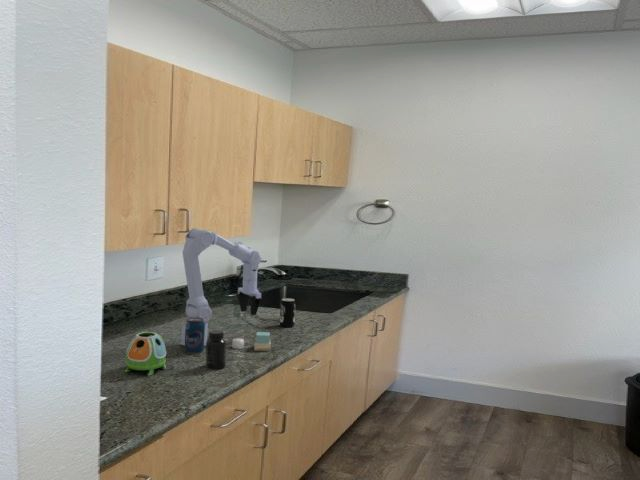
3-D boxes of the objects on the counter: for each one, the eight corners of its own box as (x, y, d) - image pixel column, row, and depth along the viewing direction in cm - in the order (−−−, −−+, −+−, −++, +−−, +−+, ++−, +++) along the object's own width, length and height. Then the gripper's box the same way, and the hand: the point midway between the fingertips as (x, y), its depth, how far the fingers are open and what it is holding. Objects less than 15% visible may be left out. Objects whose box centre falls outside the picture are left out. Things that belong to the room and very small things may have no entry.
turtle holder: (177, 362, 204) (178, 327, 203) (154, 378, 186) (155, 341, 185) (143, 358, 206) (144, 324, 205) (117, 374, 188) (118, 337, 187)
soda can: (184, 354, 213) (185, 321, 212) (184, 349, 220) (185, 317, 219) (204, 354, 215) (205, 321, 214) (203, 348, 221) (204, 317, 220)
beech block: (270, 351, 223) (270, 343, 223) (254, 351, 223) (254, 343, 222) (270, 347, 229) (270, 339, 229) (254, 346, 229) (255, 339, 228)
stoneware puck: (237, 349, 223) (237, 342, 222) (229, 347, 226) (230, 339, 225) (246, 347, 226) (246, 340, 226) (238, 345, 229) (238, 337, 229)
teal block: (269, 343, 223) (269, 335, 223) (256, 343, 223) (256, 335, 223) (269, 340, 228) (270, 332, 228) (256, 339, 228) (256, 332, 228)
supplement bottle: (216, 362, 205) (217, 328, 204) (230, 366, 201) (231, 332, 200) (201, 366, 200) (202, 331, 199) (214, 371, 196) (215, 335, 195)
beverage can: (292, 328, 260) (293, 301, 259) (277, 326, 262) (279, 300, 260) (295, 325, 267) (297, 298, 266) (281, 323, 268) (282, 297, 267)
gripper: (268, 281, 238) (266, 315, 239) (248, 276, 249) (247, 308, 250) (253, 282, 233) (251, 316, 234) (234, 277, 244) (232, 310, 246)
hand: (248, 312), depth 242 cm, fingers open, 7 cm apart
